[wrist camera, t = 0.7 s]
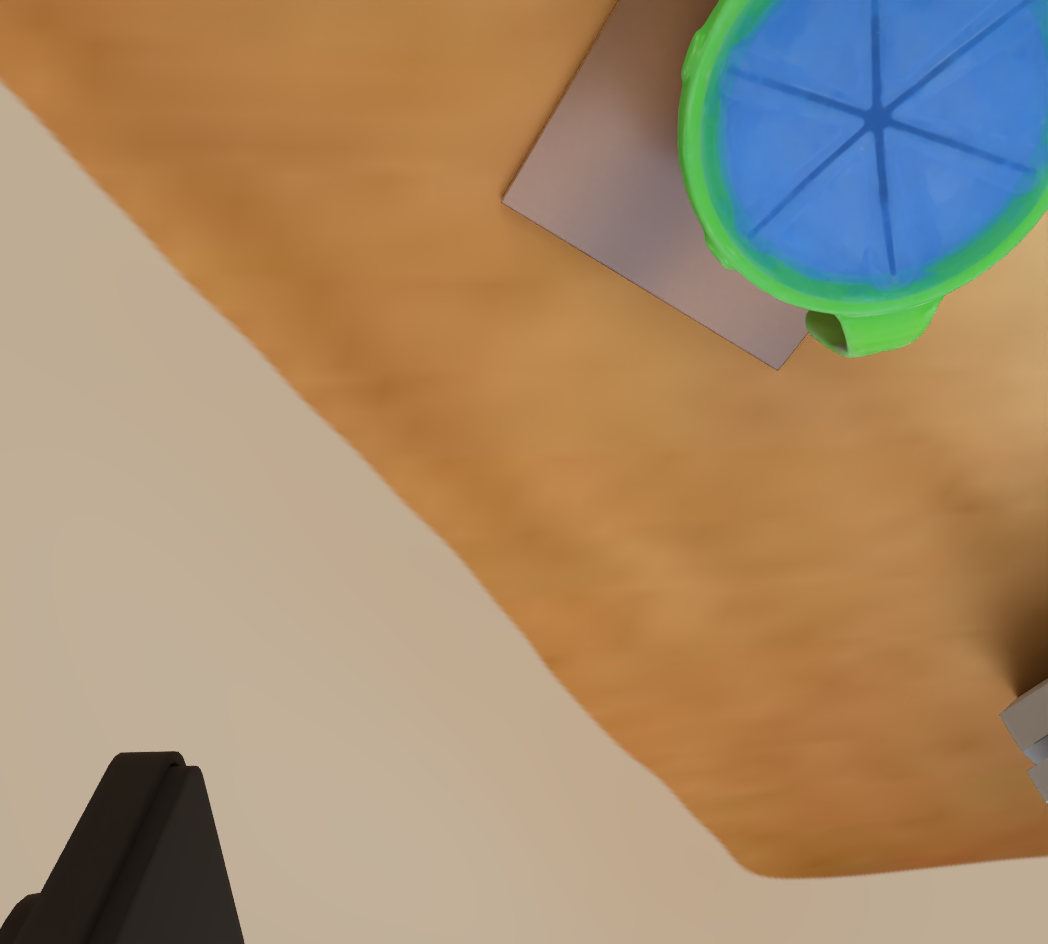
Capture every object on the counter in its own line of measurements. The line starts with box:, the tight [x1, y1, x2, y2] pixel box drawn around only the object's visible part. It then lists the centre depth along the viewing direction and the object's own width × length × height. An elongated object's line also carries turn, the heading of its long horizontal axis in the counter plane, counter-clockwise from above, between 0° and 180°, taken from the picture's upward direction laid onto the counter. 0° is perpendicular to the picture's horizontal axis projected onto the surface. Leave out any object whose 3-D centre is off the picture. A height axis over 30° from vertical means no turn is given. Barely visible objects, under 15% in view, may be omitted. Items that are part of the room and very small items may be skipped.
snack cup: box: [677, 0, 1048, 358], centre depth 30 cm, size 16×11×10 cm
